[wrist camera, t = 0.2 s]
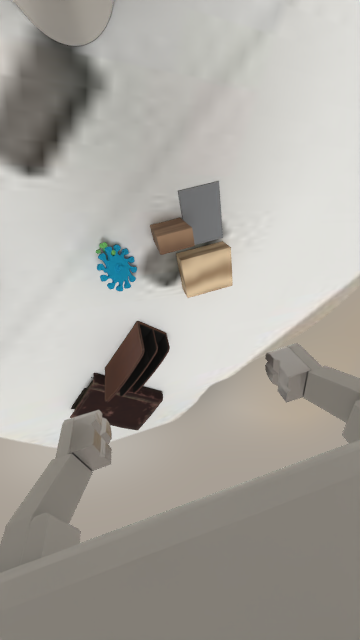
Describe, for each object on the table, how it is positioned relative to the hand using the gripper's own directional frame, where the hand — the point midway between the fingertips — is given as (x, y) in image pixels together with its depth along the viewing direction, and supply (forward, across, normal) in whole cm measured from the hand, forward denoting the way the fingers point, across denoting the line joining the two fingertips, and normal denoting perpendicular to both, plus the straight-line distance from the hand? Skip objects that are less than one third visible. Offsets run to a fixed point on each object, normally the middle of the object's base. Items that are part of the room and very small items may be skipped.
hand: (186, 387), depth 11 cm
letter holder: (+48, +11, +37) cm, 61 cm away
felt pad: (+47, -15, +5) cm, 50 cm away
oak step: (+47, -13, +16) cm, 52 cm away
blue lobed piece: (+48, +6, +9) cm, 49 cm away
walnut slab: (+47, -7, +5) cm, 48 cm away
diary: (+48, +24, +55) cm, 77 cm away
